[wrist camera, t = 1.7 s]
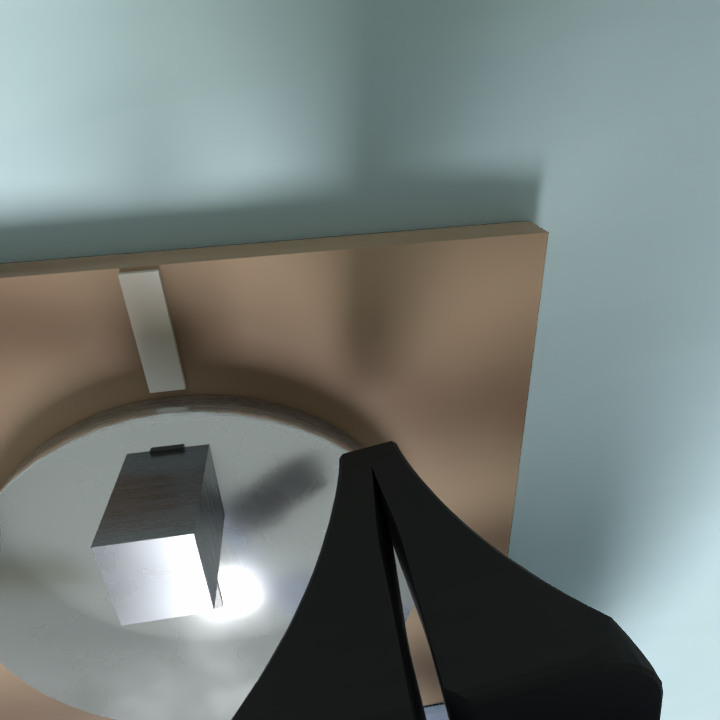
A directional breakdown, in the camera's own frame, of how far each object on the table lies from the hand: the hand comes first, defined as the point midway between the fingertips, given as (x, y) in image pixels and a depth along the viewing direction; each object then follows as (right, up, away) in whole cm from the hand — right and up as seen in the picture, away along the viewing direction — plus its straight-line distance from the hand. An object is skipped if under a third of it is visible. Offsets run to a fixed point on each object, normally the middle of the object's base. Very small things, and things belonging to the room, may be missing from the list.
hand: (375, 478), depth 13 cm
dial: (-5, -4, +4) cm, 8 cm away
